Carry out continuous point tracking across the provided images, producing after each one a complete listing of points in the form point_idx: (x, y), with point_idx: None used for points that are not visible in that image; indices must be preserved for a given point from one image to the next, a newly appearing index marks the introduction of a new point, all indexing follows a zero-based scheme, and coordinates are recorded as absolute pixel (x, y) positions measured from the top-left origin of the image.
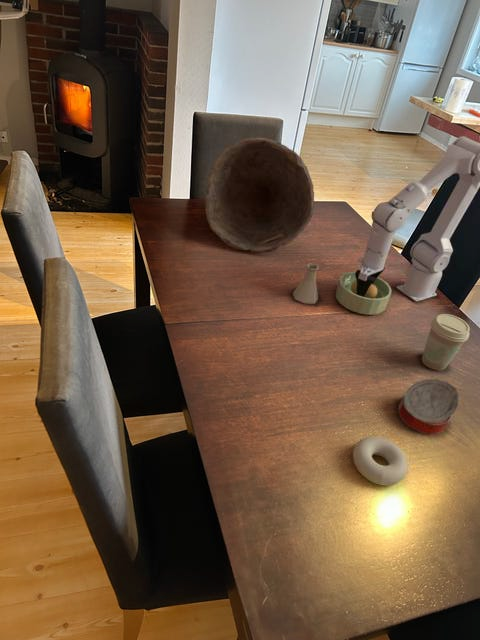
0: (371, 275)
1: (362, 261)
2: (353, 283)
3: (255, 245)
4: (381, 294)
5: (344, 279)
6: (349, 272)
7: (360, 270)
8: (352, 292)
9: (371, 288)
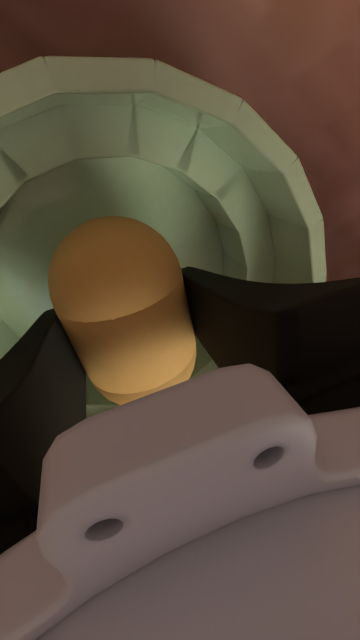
0: (232, 365)
1: (62, 632)
2: (70, 260)
3: None
4: (208, 365)
5: (110, 100)
6: (209, 90)
7: (3, 473)
8: (143, 199)
9: (125, 401)
